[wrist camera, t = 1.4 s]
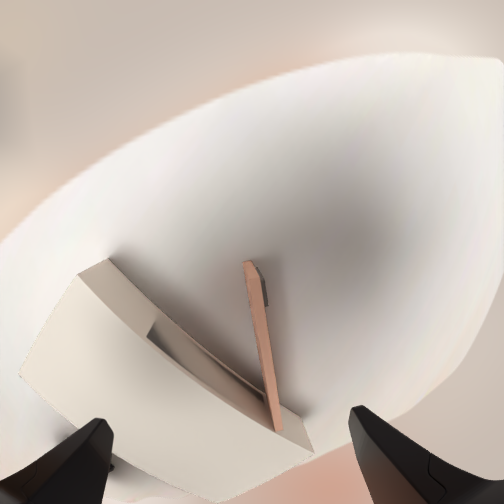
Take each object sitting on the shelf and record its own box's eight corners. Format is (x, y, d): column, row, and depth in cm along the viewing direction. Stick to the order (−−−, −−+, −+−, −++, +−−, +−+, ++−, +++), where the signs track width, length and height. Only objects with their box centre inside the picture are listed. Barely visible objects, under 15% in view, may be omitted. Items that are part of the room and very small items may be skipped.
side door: (266, 396, 21) (275, 431, 17) (242, 262, 19) (248, 279, 15) (276, 394, 21) (287, 428, 17) (255, 259, 19) (265, 276, 15)
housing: (216, 470, 23) (217, 503, 18) (45, 347, 19) (18, 373, 14) (300, 417, 23) (314, 453, 18) (107, 258, 18) (76, 274, 13)
